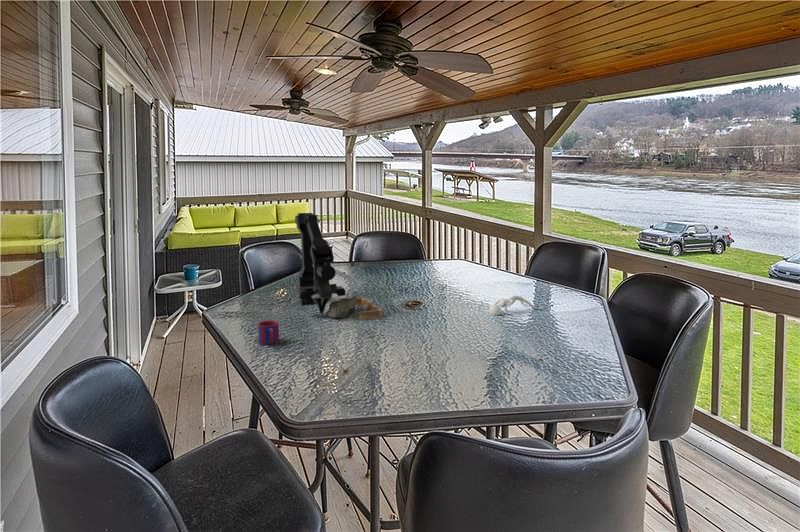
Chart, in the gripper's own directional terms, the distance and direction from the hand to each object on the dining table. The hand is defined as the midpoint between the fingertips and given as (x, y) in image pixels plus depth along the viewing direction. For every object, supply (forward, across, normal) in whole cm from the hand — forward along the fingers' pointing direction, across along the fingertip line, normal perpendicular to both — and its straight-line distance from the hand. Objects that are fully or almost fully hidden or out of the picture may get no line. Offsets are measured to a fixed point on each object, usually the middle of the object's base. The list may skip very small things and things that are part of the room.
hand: (321, 313), depth 208 cm
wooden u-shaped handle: (+1, +17, 0) cm, 17 cm away
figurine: (+2, +77, -23) cm, 80 cm away
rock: (+1, +8, -1) cm, 8 cm away
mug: (+1, -26, -27) cm, 37 cm away
